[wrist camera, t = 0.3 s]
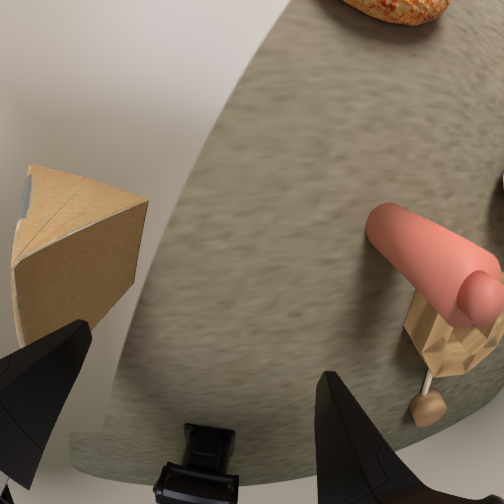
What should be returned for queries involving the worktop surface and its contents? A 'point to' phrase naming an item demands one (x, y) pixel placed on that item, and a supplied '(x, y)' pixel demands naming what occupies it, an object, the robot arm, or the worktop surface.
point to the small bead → (427, 408)
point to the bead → (449, 339)
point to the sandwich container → (72, 251)
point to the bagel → (402, 10)
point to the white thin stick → (427, 383)
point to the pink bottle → (439, 265)
